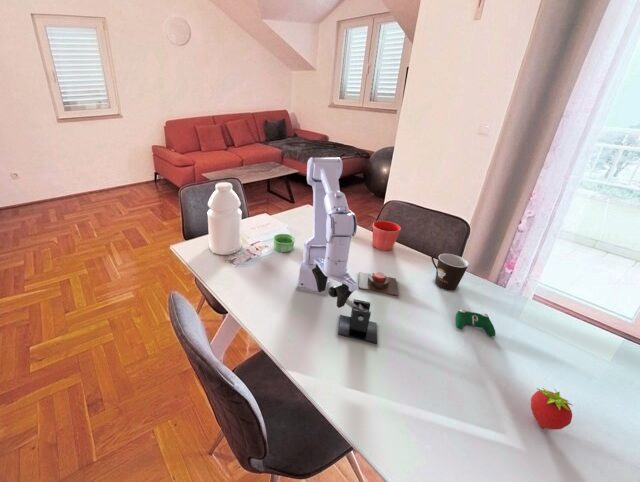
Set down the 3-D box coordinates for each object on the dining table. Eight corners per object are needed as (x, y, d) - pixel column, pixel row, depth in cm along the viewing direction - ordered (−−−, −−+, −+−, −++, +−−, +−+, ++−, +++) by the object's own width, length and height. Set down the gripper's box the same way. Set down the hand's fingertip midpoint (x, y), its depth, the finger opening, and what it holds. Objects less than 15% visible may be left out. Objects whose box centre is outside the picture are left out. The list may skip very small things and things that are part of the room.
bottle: (227, 236, 142) (226, 177, 131) (248, 247, 133) (249, 184, 122) (202, 246, 134) (198, 184, 122) (223, 259, 124) (221, 192, 113)
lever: (325, 295, 86) (332, 288, 84) (326, 288, 88) (333, 282, 87) (361, 321, 85) (368, 315, 84) (361, 314, 88) (368, 308, 86)
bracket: (337, 336, 87) (341, 311, 83) (339, 317, 94) (343, 293, 90) (376, 346, 83) (382, 320, 80) (375, 325, 90) (381, 301, 87)
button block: (358, 290, 106) (359, 282, 104) (359, 274, 114) (360, 267, 113) (397, 298, 102) (399, 290, 101) (395, 281, 110) (396, 274, 109)
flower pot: (401, 252, 129) (406, 231, 125) (374, 252, 129) (378, 231, 125) (390, 240, 138) (394, 220, 135) (365, 240, 139) (368, 220, 135)
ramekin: (273, 242, 137) (273, 233, 135) (294, 243, 136) (294, 234, 134) (272, 252, 129) (272, 242, 127) (294, 253, 128) (295, 244, 126)
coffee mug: (464, 294, 104) (473, 268, 100) (436, 291, 105) (444, 265, 101) (450, 274, 114) (458, 250, 110) (424, 272, 116) (431, 248, 112)
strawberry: (521, 430, 63) (539, 396, 59) (522, 403, 68) (539, 371, 64) (561, 451, 60) (584, 416, 56) (559, 421, 65) (580, 388, 61)
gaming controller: (490, 337, 88) (489, 315, 91) (496, 336, 85) (495, 314, 87) (452, 329, 91) (452, 309, 93) (457, 328, 88) (457, 307, 90)
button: (373, 281, 106) (373, 276, 105) (372, 275, 109) (373, 271, 108) (384, 283, 105) (385, 278, 104) (384, 277, 108) (384, 273, 107)
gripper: (369, 265, 78) (361, 308, 83) (328, 241, 90) (323, 280, 95) (348, 273, 75) (341, 317, 80) (309, 247, 87) (305, 287, 92)
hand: (330, 298), depth 87 cm, fingers open, 7 cm apart
